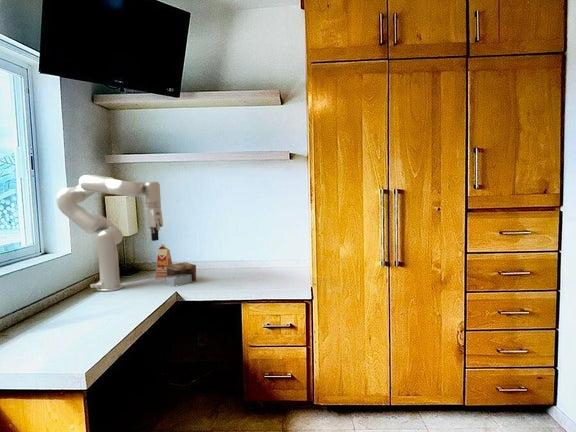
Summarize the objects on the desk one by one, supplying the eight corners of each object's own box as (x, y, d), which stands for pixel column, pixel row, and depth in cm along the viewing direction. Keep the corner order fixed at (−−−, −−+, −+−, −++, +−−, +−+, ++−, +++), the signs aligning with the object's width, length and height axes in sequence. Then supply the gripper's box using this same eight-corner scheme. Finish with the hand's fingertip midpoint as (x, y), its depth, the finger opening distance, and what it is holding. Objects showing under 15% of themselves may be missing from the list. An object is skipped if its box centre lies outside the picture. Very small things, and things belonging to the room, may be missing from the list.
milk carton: (170, 278, 254) (168, 244, 252) (154, 279, 254) (152, 244, 252) (174, 275, 263) (173, 242, 261) (159, 275, 263) (157, 242, 262)
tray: (184, 281, 248) (183, 273, 248) (191, 282, 244) (191, 274, 244) (166, 285, 239) (166, 277, 239) (174, 287, 235) (173, 278, 235)
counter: (177, 285, 237) (176, 268, 236) (167, 281, 246) (166, 265, 245) (196, 281, 244) (195, 264, 243) (185, 278, 254) (184, 262, 253)
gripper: (166, 205, 227) (168, 240, 228) (154, 204, 238) (155, 238, 240) (152, 206, 222) (154, 242, 223) (140, 205, 233) (142, 240, 235)
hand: (155, 240), depth 232 cm, fingers closed
